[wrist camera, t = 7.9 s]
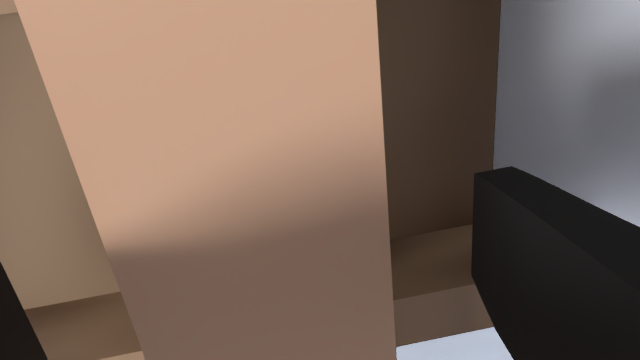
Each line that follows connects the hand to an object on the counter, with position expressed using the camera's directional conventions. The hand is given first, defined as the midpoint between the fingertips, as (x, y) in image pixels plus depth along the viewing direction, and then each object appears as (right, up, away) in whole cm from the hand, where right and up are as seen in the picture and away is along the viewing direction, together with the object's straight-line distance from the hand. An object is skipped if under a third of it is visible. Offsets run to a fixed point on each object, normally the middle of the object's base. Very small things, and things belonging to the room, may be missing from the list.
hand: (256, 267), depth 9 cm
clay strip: (0, +2, +2) cm, 3 cm away
